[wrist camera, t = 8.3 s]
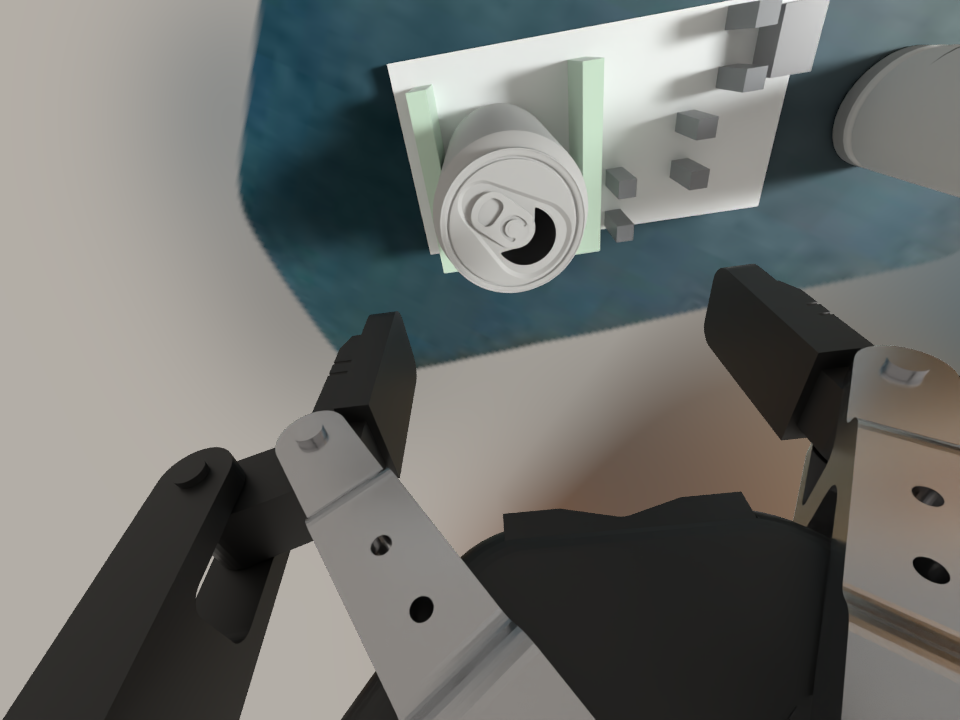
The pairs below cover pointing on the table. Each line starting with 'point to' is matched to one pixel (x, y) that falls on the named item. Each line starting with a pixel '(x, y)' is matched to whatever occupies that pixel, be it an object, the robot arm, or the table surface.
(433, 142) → the end holder
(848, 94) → the travel mug
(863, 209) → the table surface
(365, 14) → the table surface
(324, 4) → the table surface
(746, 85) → the board
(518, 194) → the beverage can
